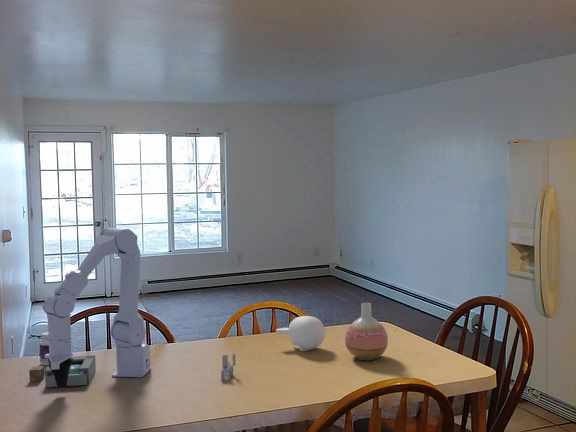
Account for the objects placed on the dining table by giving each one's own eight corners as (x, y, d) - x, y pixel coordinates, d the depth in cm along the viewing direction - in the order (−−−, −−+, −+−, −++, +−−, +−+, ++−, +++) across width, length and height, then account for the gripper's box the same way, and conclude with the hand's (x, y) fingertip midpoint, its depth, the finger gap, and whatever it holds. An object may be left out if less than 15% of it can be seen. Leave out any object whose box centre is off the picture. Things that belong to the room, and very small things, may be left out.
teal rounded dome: (77, 376, 176) (76, 370, 176) (57, 376, 176) (57, 370, 176) (84, 370, 181) (83, 364, 181) (65, 370, 182) (65, 364, 182)
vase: (339, 361, 192) (339, 306, 191) (351, 349, 205) (351, 297, 203) (382, 366, 187) (382, 310, 185) (392, 353, 200) (392, 300, 198)
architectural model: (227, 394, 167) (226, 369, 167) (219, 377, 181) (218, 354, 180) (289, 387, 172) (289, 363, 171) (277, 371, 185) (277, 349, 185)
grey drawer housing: (95, 370, 186) (95, 355, 186) (89, 384, 174) (88, 368, 174) (55, 373, 184) (54, 357, 184) (45, 387, 173) (45, 370, 172)
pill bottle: (52, 366, 191) (50, 335, 190) (36, 365, 192) (35, 335, 191) (62, 361, 196) (60, 331, 196) (46, 360, 197) (45, 330, 197)
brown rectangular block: (44, 377, 181) (43, 366, 180) (41, 381, 178) (40, 369, 177) (32, 378, 180) (32, 366, 180) (29, 382, 177) (29, 370, 177)
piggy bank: (329, 355, 204) (296, 349, 215) (333, 319, 206) (301, 315, 217) (304, 352, 196) (271, 346, 206) (309, 315, 198) (277, 311, 209)
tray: (93, 370, 185) (93, 361, 185) (86, 384, 173) (85, 374, 173) (56, 373, 183) (55, 363, 183) (46, 387, 172) (45, 376, 171)
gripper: (50, 331, 172) (52, 378, 173) (37, 346, 158) (40, 397, 159) (76, 330, 173) (78, 377, 174) (66, 345, 159) (68, 395, 160)
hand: (62, 386), depth 167 cm, fingers closed
